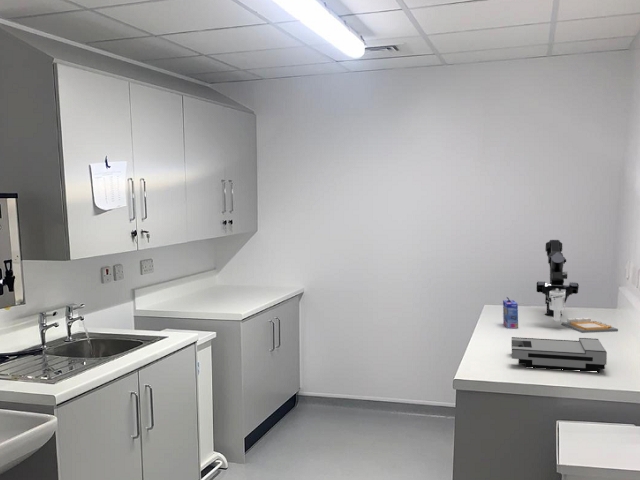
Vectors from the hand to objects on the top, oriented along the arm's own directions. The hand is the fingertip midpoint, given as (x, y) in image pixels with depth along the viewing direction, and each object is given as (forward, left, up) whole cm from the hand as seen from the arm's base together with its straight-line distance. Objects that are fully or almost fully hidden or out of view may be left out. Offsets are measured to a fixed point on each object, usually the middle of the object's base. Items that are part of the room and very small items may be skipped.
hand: (557, 301), depth 278 cm
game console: (+32, -52, -14) cm, 63 cm away
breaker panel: (+8, +15, -13) cm, 21 cm away
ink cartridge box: (-18, -11, -13) cm, 25 cm away
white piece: (-1, +1, -9) cm, 10 cm away
